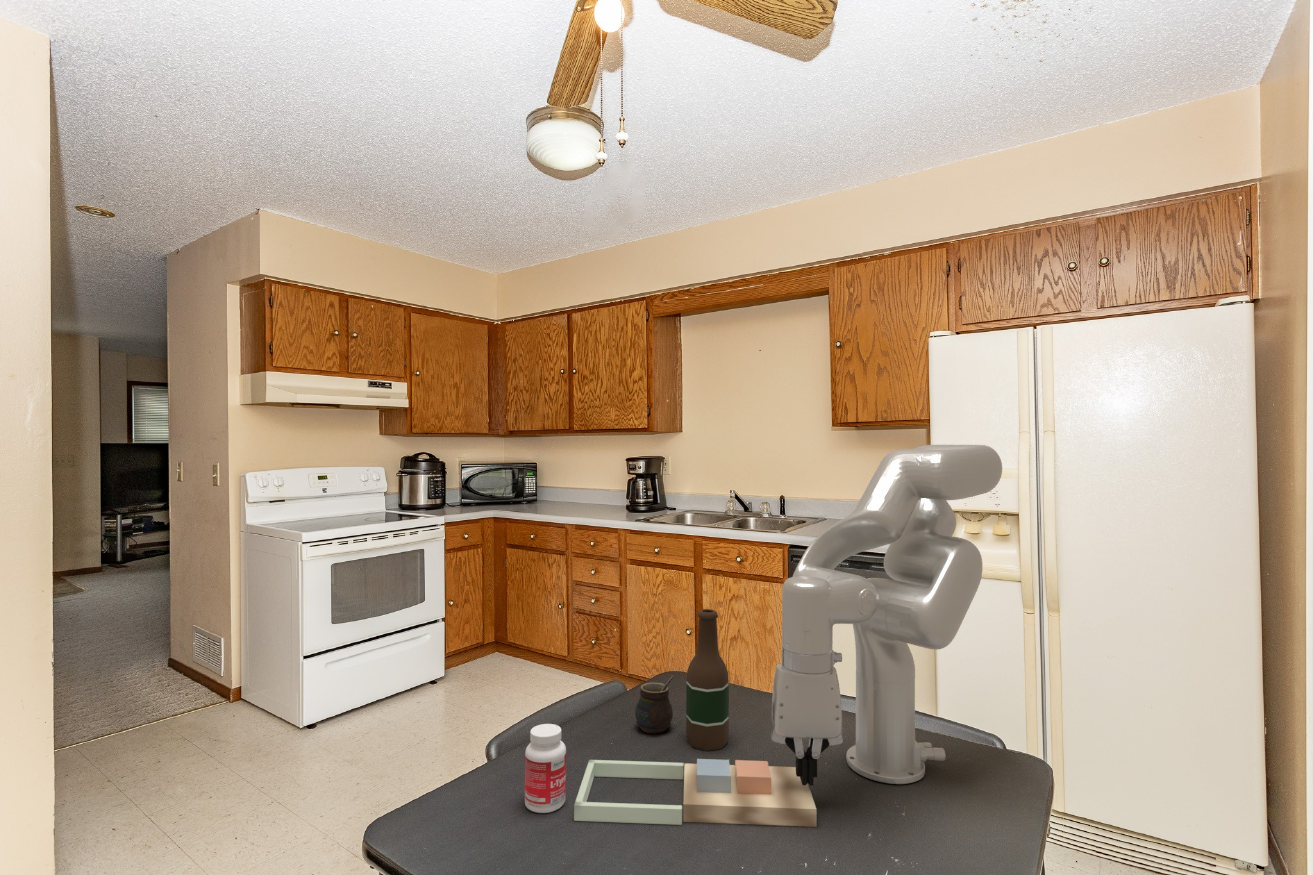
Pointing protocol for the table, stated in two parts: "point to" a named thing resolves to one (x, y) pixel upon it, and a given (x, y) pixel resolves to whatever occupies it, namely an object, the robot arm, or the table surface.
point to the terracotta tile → (752, 777)
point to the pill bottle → (545, 769)
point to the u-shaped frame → (625, 810)
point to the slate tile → (713, 776)
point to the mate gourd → (654, 707)
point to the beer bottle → (707, 689)
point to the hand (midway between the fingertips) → (806, 780)
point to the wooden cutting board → (751, 801)
